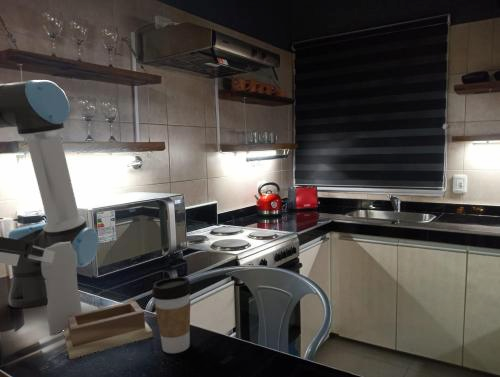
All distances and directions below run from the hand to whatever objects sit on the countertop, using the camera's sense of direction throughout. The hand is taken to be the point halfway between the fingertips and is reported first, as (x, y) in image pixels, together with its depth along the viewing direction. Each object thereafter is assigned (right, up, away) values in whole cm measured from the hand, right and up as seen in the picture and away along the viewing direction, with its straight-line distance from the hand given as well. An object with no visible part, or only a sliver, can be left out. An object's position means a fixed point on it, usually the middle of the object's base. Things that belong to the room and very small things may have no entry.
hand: (34, 259), depth 98 cm
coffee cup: (+35, -18, -8) cm, 41 cm away
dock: (+18, -18, 0) cm, 25 cm away
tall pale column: (+5, -19, +6) cm, 20 cm away
